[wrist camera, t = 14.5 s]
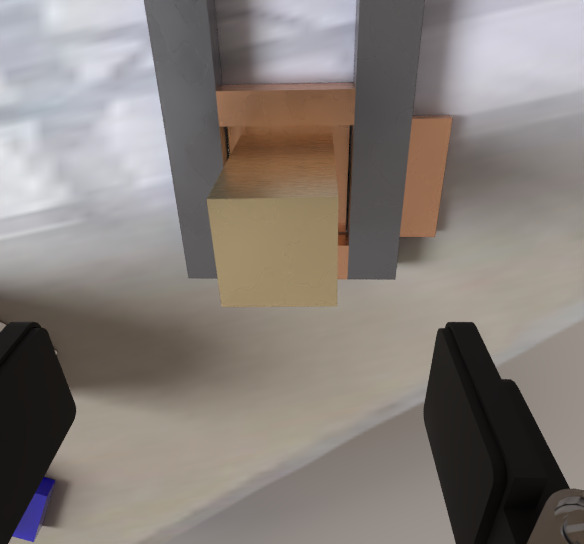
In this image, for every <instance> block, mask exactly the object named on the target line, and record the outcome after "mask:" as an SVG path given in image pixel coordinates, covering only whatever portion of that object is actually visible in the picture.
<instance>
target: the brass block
mask: <svg viewBox="0 0 584 544" xmlns="http://www.w3.org/2000/svg"><path fill="white" fill-rule="evenodd" d="M207 206H208V213H209V220H210V227H211V234H212V241H213V248H214V256H215V263H216V270H217V277H218V284H219V291H220V298H221V305H222V307H296V306H337V270H338V187H337V177H336V166H335V156H334V145H333V135H332V133H319V134H281V135H244V136H240V137H239V139H238V141H237V143H236V145H235V147H234V149H233V151H232V152H231V154H230V156H229V158H228V160H227V162H226V164H225V166H224V167H223V169H222V171H221V173H220V175H219V177H218V179H217V181H216V182H215V184H214V186H213V188H212V190H211V192H210V194H209V196H208V197H207Z"/></svg>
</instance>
